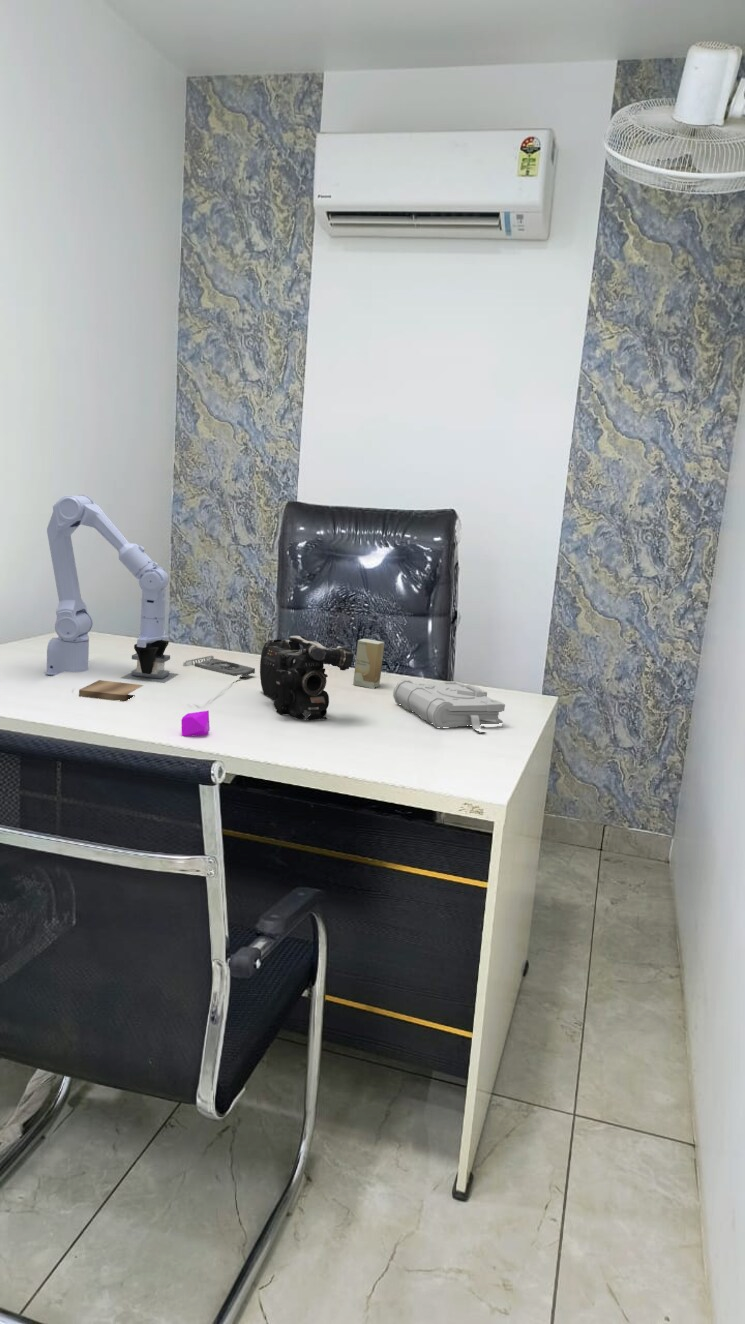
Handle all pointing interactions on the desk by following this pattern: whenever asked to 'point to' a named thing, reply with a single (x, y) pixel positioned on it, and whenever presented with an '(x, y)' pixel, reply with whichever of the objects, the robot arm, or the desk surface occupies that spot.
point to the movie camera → (299, 675)
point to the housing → (156, 669)
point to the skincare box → (368, 663)
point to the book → (448, 703)
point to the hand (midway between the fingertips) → (150, 671)
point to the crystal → (195, 723)
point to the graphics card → (221, 666)
